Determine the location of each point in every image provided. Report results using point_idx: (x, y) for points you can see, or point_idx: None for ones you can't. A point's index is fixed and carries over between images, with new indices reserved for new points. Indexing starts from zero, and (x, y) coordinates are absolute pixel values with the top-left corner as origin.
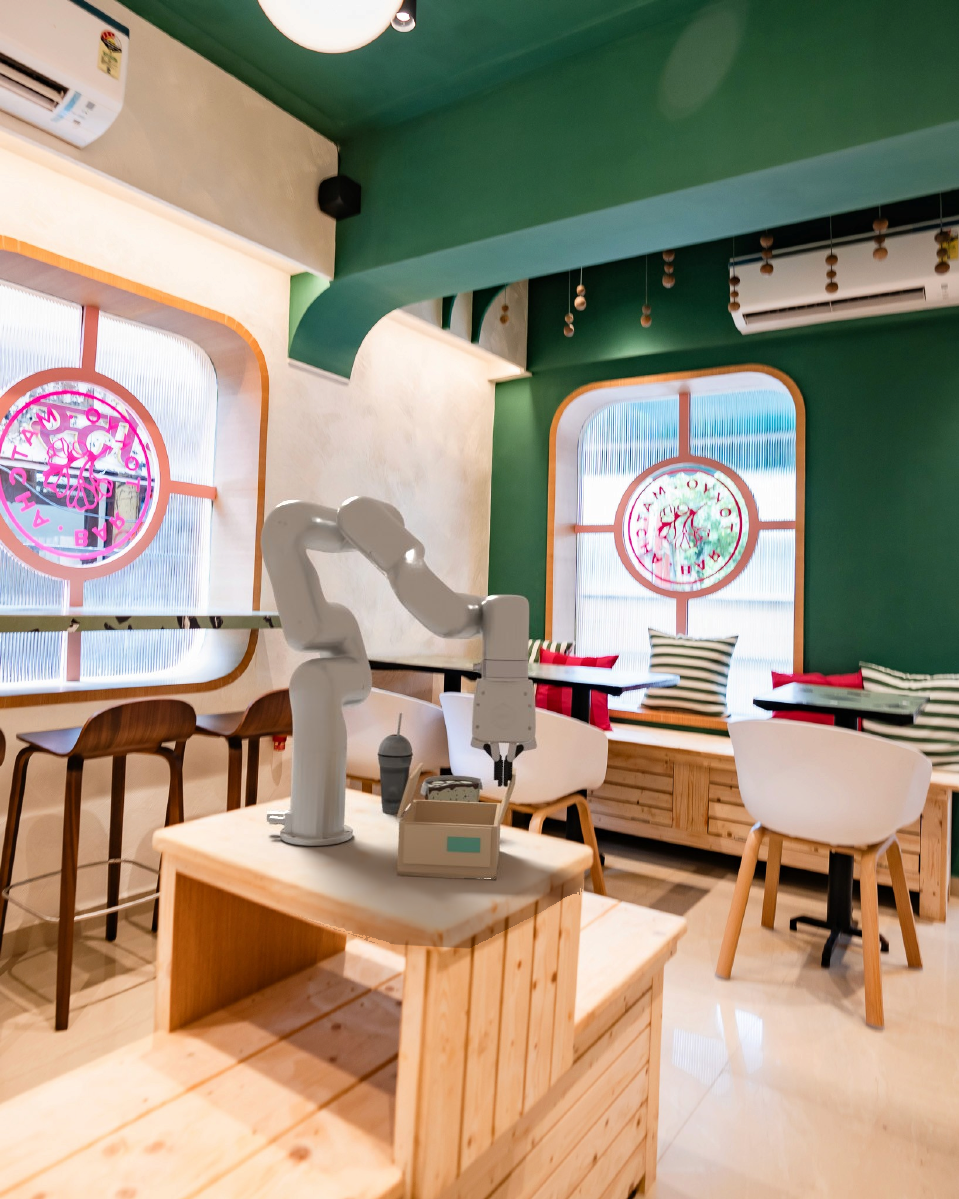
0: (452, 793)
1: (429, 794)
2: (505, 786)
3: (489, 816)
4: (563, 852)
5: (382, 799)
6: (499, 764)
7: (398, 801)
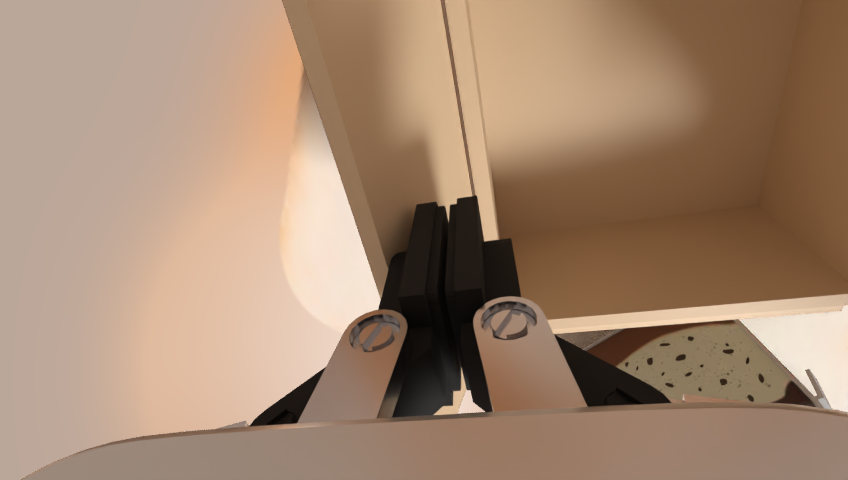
0: None
1: (788, 381)
2: (430, 203)
3: (532, 290)
4: (330, 271)
5: None
6: (470, 276)
7: None
